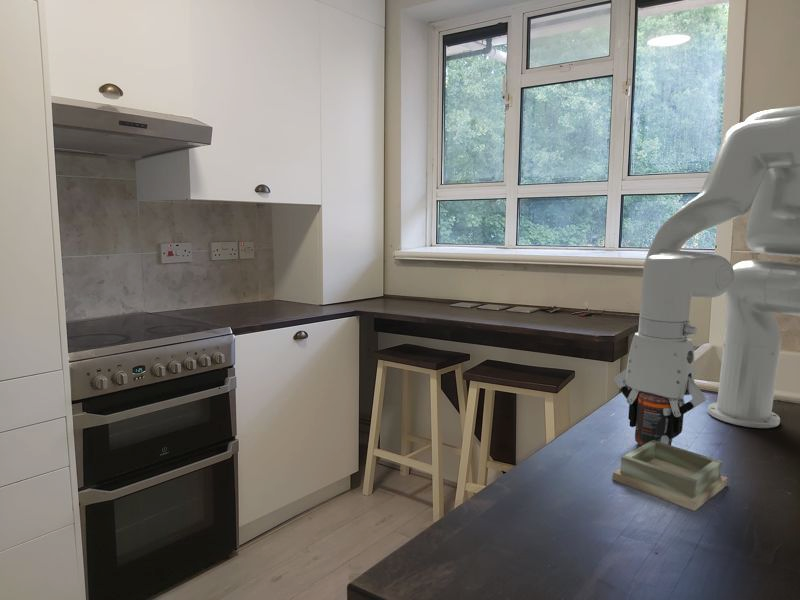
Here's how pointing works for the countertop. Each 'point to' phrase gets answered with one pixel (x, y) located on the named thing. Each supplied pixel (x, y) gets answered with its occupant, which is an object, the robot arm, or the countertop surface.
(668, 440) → the supplement bottle
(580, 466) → the countertop surface
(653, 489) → the socket board
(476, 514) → the countertop surface
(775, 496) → the countertop surface
